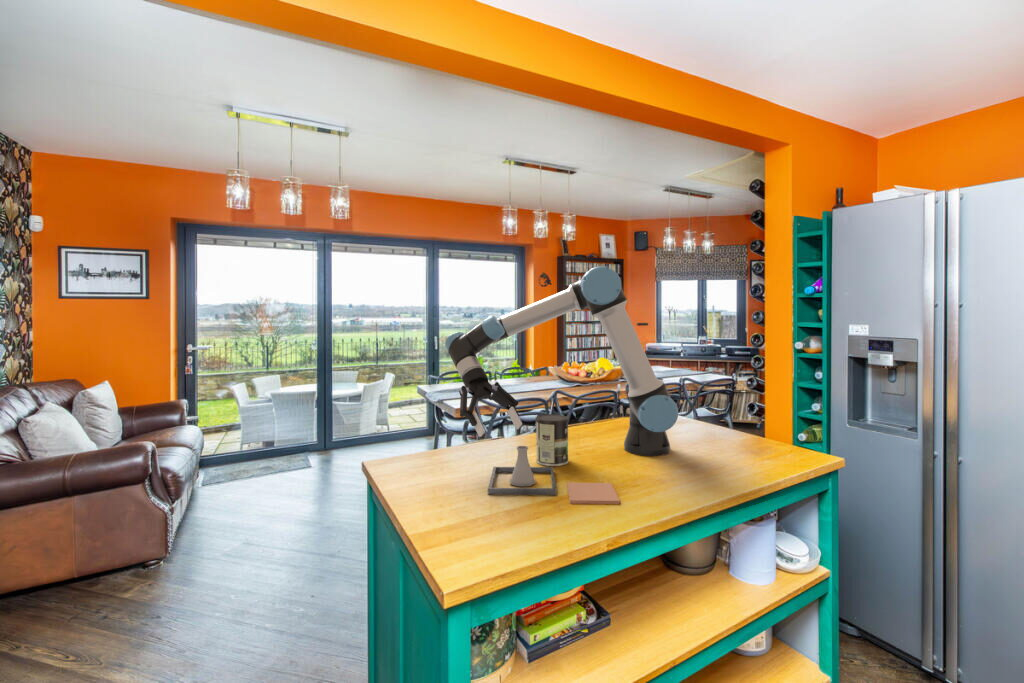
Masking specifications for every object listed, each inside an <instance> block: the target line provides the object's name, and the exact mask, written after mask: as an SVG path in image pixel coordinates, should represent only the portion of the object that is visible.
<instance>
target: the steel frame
mask: <svg viewBox="0 0 1024 683" xmlns="http://www.w3.org/2000/svg"><path fill="white" fill-rule="evenodd" d="M514 468H515V466H493V468H492V472H491V475H490V480H489V484H488V488H487V495H489V496H490V495H492V496H493V495H496V496H497V495H498V496H500V495H501V496H504V495H505V496H506V495H507V496H512V495H513V496H515V495H516V496H557V485H556V478H555V472H554V466H530V468H531V471H532V474H550V481H551V488H549V487H544V488H543V487H494V485H495V480H496V474H497V473H503V474H504V473H507V474H508V473H511V474H513V471H514Z"/></svg>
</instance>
